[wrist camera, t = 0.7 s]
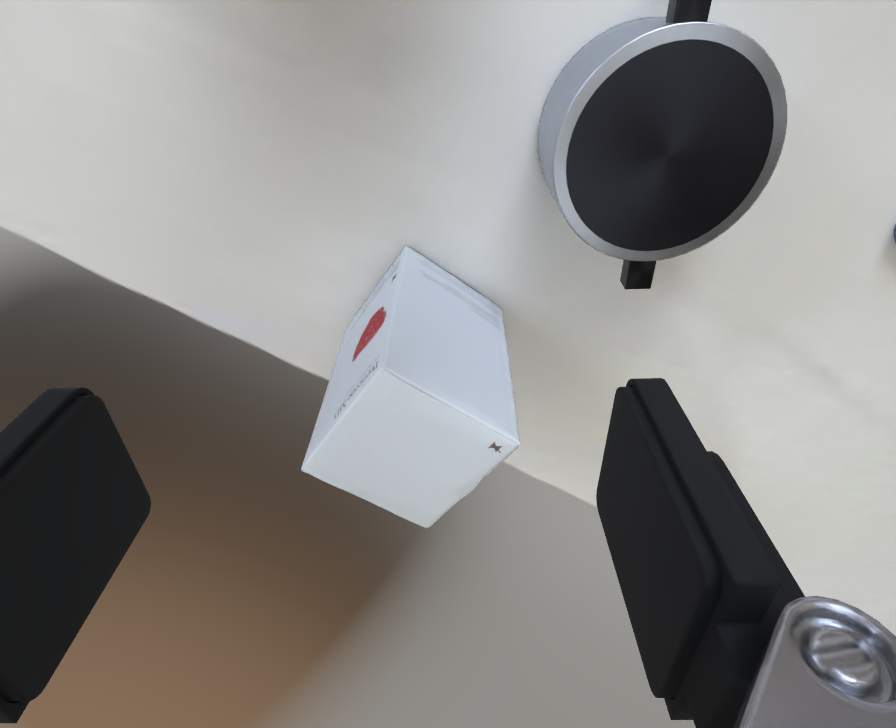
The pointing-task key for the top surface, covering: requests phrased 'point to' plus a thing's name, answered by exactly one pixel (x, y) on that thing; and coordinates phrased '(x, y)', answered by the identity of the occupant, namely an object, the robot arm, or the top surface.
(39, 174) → the top surface
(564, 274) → the top surface
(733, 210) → the pot
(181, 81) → the top surface
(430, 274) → the white product box
